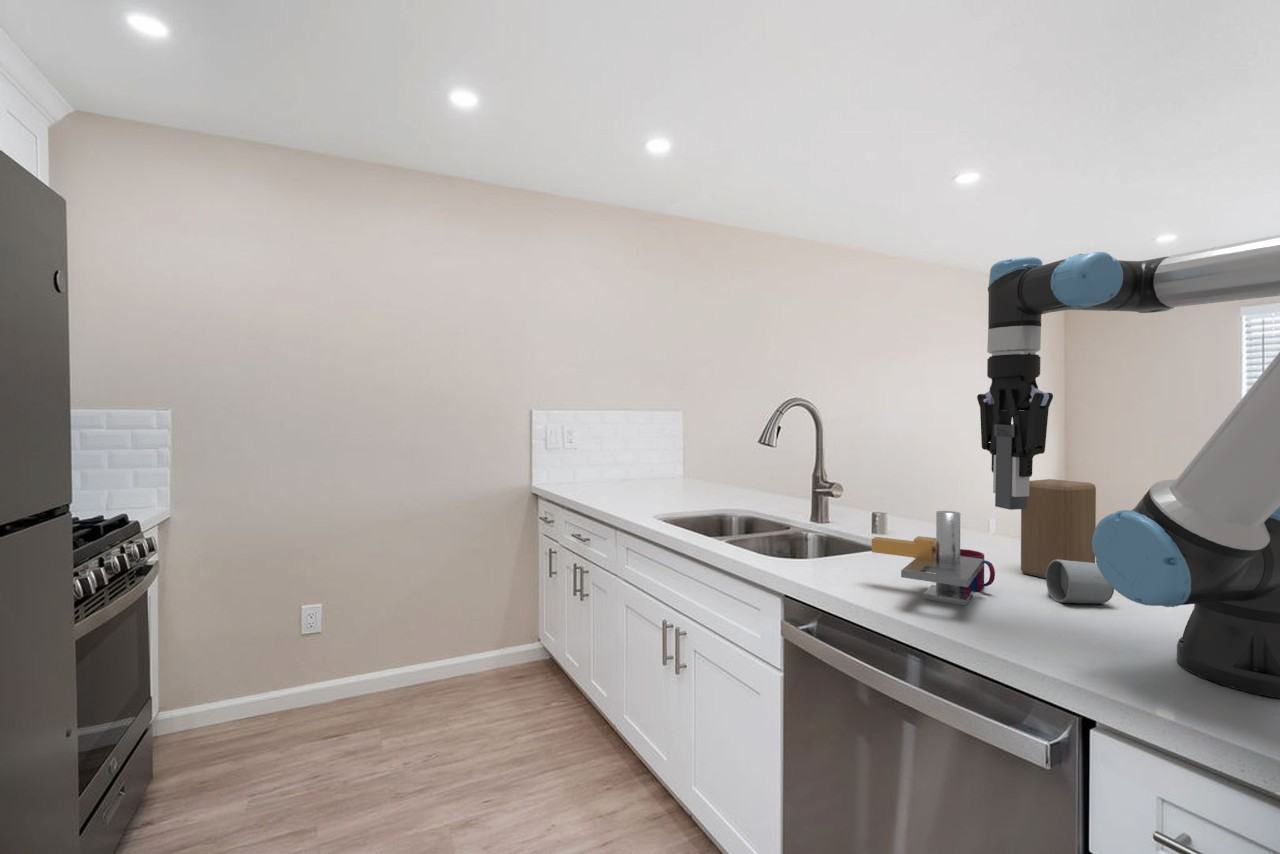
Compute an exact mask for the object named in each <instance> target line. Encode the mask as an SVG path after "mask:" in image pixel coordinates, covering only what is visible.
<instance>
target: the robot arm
mask: <svg viewBox="0 0 1280 854" xmlns="http://www.w3.org/2000/svg"><path fill="white" fill-rule="evenodd" d="M987 292H988V303H987V304H988V307H987V308H988V313H987V314H988V316H987V318H988V321H987V323H988V324H987V325H988V327H987V328H988V329H987V346H986V347H987V349H986V351H987V353H989V354H991V356H989V357H988V358H987V365H986V367H987V371H986V372H987V373H986V375H987V377H988V379H991V384H990V387H989V391H987V392H985V393H979V394H977V396H976V399H977V402H978V406H979V412H980V418H979V419H980V435H981V436H980V437H981V438H980V439H981V443H980V444H981V448H982V450H986V451H988V452H989V453H990V455H991V473H993V474H992V475H993V476H992V477H993V478H992V479H993V481H992V482H993V483H992V484H993V485H992V493H993V494H995V488H996V436H994V424H1012V423H1013V425H1016V437H1015V444H1016V454H1013V456H1014V457H1012V496H1014V497H1023V496H1029V481H1031V480H1030V478H1032V475H1033V460H1034V459H1033V458H1034V457H1035V456H1037V455H1041V454H1044V453H1045V451H1046V444H1047V443H1046V441H1047V433H1048V432H1047V430H1048V421H1049V408H1050V406H1051V403H1052V401H1053V399H1054V395H1053V393H1052V392H1044V391H1042V390H1040V389H1039V386H1038V384H1037V378H1038V377H1040V375H1041V359H1042V357H1041V356H1040V355H1039V354H1037V352H1039V351H1040V350H1041V340H1042V339H1041V337H1042V333H1041V332H1042V316H1043V315H1045V314H1048V313H1055V312H1057V313H1058V312H1062V311H1063V312H1064V311H1097V312H1099V311H1102V312H1103V311H1104V312H1105V311H1106V312H1111V311H1112V312H1114V311H1115V312H1132V313H1133V312H1135V313H1140V314H1149V313H1150V314H1151V313H1153V314H1154V313H1159V312H1160V313H1161V312H1162V313H1163V312H1167V311H1170V310H1173V309H1174V308H1178V307H1179V308H1180V307H1187V306H1195V305H1197V306H1198V305H1206V304H1207V305H1208V304H1218V303H1224V302H1225V303H1226V302H1227V303H1228V302H1234V301H1244V300H1252V299H1253V300H1254V299H1260V298H1261V299H1262V298H1271V297H1272V298H1273V297H1280V234H1278V235H1277V234H1276V235H1271V236H1267V237H1262V238H1256V239H1250V240H1246V241H1240V242H1236V243H1230V244H1225V245H1219V246H1213V247H1209V248H1204V249H1197V250H1193V251H1188V252H1183V253H1177V254H1173V255H1169V256H1163V257H1158V258H1157V257H1156V258H1152V259H1148V260H1120V259H1119V260H1118V259H1117V258H1116V257H1113V256H1112V255H1111V254H1110V253H1108V252H1104V251H1094V252H1093V251H1092V252H1089V253H1079V254H1074V255H1073V256H1069V257H1067V258H1065V259H1063V258H1062V259H1060V260H1056V261H1053V262H1049V263H1046V264H1043V261H1042V260H1041V259H1040V258H1039V257H1035V256H1034V257H1033V256H1024V257H1023V256H1021V257H1012V258H1009V259H1003V260H999V261H997V262H995V263H994V264H993V265H992V266H991V267H990V270H989V279H988V287H987ZM1202 446H1203V447H1202V448H1201V449H1200V450H1199V451H1198V452H1197V453H1196V455H1195V456H1194V457H1193V459H1192V460H1191V462H1189V464H1188V465H1187V466H1186V467H1185V468H1184V470H1183V471H1182V473H1180V475H1179V476H1178V477H1177V478H1176V479H1175V478H1174V479H1166V480H1165V479H1164V480H1160V481H1156V482H1155V483H1154V484H1153V485H1152V486H1151V487H1150V488H1149V489H1148V491H1147V492H1146V493H1145V494H1144V496H1143V497H1142V498H1141V500H1140V501H1139V502H1138V503H1137V504H1136V506H1135V507H1133V509H1130V510H1128V509H1127V510H1123V509H1122V510H1118V511H1115V512H1112V513H1110V514H1108V515H1105V516H1104V517H1103V518H1101V520H1099V522H1098V523H1097V525H1096V528H1095V531H1094V534H1093V540H1092V547H1093V553H1094V554H1095V564H1097V566H1098V568H1099V570H1100V572H1101V574H1102V575H1103V577H1104V578H1105V579H1106V581H1107V582H1108V583H1109V584H1110V585H1111V586H1112V587H1113V588H1114V591H1116V592H1117V593H1118V594H1120V595H1121V596H1122V597H1124V598H1126V599H1127V600H1129V601H1131V602H1134V603H1137V604H1140V605H1144V606H1151V607H1158V606H1159V607H1165V608H1174V607H1179V606H1186V605H1194V607H1193V609H1192V612H1191V614H1190V616H1189V618H1188V620H1187V622H1186V625H1185V627H1184V630H1183V634H1182V637H1180V638H1179V639H1178V641H1177V643H1176V661H1177V663H1178V664H1179V665H1180V666H1181V667H1182V668H1184V669H1185V670H1187V671H1189V672H1190V673H1191V674H1194V675H1197V676H1199V677H1201V678H1204V679H1206V680H1208V681H1211V682H1214V683H1217V684H1220V685H1223V686H1226V687H1230V688H1232V689H1236V690H1239V691H1244V692H1247V693H1251V694H1257V695H1261V696H1266V697H1270V698H1276V699H1280V351H1279V352H1278V353H1277V355H1276V356H1275V357H1274V358H1273V359H1272V361H1271V362H1269V364H1268V366H1267V367H1266V368H1265V370H1264V371H1263V372H1262V373H1261V374H1260V376H1259V377H1258V378H1257V380H1256V381H1255V382H1254V383H1253V384H1252V385H1251V387H1250V388H1249V389H1248V391H1247V392H1246V393H1245V394H1244V395H1243V397H1241V399H1240V400H1239V402H1238V403H1237V404H1236V405H1235V407H1234V408H1232V410H1231V411H1230V413H1229V414H1228V415H1227V417H1226V418H1225V419H1224V420H1223V422H1222V423H1221V424H1220V426H1219V427H1218V428H1217V429H1216V430H1215V431H1214V433H1213V434H1212V435H1211V436H1210V437H1209V439H1208V440H1207V441H1206V443H1204V445H1202ZM1025 447H1026V448H1025Z"/></svg>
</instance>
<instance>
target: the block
mask: <svg viewBox="0 0 1280 854" xmlns="http://www.w3.org/2000/svg"><path fill="white" fill-rule="evenodd" d="M1096 494H1097V487H1096V485H1095V484H1094V483H1092V482H1085V481H1074V480H1064V479H1055V478H1048V479H1037V480H1030V481H1029V496H1027V509H1020V571H1021V573H1023V574H1025V575H1028V574H1029V575H1028V576H1032V575H1034V576H1033V577H1036V576H1038V577H1037V578H1041V577H1042V579H1045V578H1046V571H1047V568H1048V565H1049V564H1050V563H1051V562H1052V561H1053V560H1056V559H1058V560H1068V561H1078V562H1089V563H1095V564H1096V556H1095V554H1094V553H1093V547H1092V540H1093V534H1094V531H1095V528H1096V526H1097V525H1096V520H1097V519H1096V512H1097V510H1096V509H1097V507H1096V506H1097V502H1096V501H1097V495H1096Z"/></svg>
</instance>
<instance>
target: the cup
mask: <svg viewBox="0 0 1280 854" xmlns="http://www.w3.org/2000/svg"><path fill="white" fill-rule="evenodd" d="M960 556H963V557H971V558H979V559H984V564H986V566H987V567H988V569H989V579H988V581H987V582H985V565H984V566H983V567H982V568H981V570H980V571H979V573H978V574H977V575H976V577H975V578H974V579H973V581H972V582H971V583H970V585H969V586H968V587H962V586H960V589H963V590H969V591H972V592H981V591H983V590H985V587H988V586H991V585H992V584H993V583H994V581H995V578H996V571H995V567H994V565H993V564H992V562H990V561H989V560H985V554H984V553H983V552H981V551H977V550H972V549H965V548H960Z"/></svg>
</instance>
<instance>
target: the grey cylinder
mask: <svg viewBox="0 0 1280 854" xmlns="http://www.w3.org/2000/svg"><path fill="white" fill-rule="evenodd" d="M1045 583H1046V588H1047V590H1048V593H1049V596H1050V597H1051V598H1052V600H1053V601H1055V602H1057V603H1061V604H1091V605H1094V604H1095V605H1098V604H1105V603H1107V602H1109V601H1110V600H1111V599H1112V597H1113V596H1114V593H1115V589H1114V588H1113V587H1112V586H1111V585H1110V584H1109V583H1108V582H1107V581H1106V579H1105V578H1104V577H1103V575H1102V574H1101V572H1100V570H1099V568H1098V566H1097V563H1096V562H1095V563H1089V562H1078V561H1068V560H1058V559H1056V560H1053V561H1052V562H1051V563H1050V564H1049V565H1048V568H1047V571H1046V579H1045Z"/></svg>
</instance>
